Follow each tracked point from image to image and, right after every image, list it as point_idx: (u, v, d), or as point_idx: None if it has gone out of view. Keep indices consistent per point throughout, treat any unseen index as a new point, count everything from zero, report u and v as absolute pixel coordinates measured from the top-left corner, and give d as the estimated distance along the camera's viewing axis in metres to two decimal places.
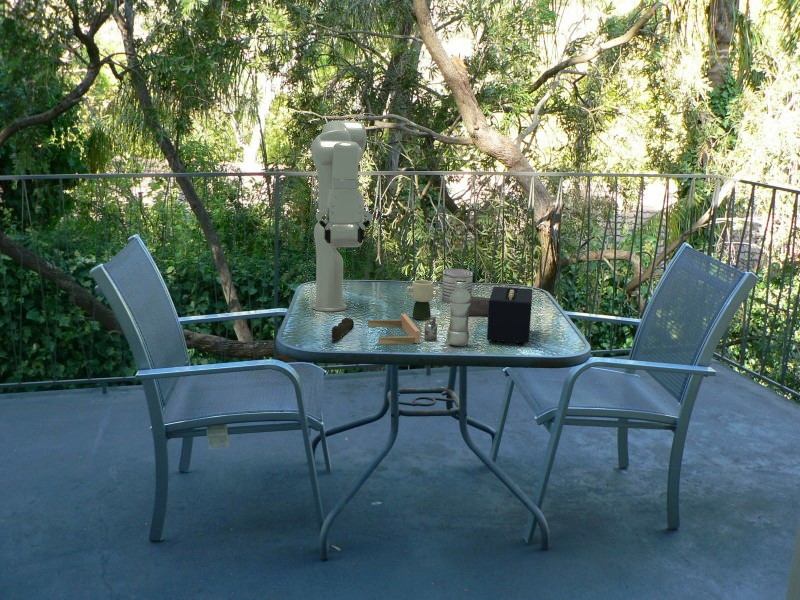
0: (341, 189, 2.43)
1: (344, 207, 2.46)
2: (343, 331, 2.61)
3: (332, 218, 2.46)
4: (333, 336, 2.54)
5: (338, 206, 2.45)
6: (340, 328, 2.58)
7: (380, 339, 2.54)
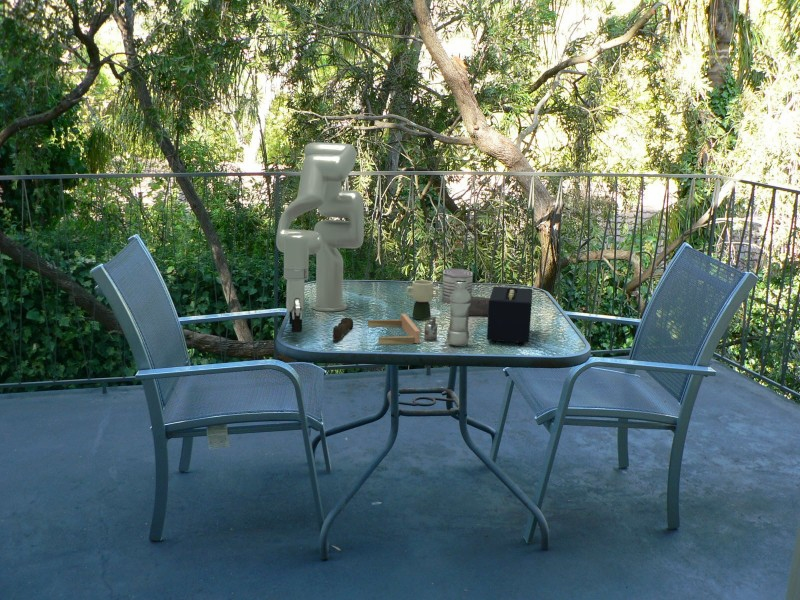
0: (307, 278, 2.56)
1: None
2: (344, 331, 2.61)
3: (303, 307, 2.55)
4: (334, 336, 2.54)
5: None
6: (341, 328, 2.58)
7: (380, 339, 2.54)
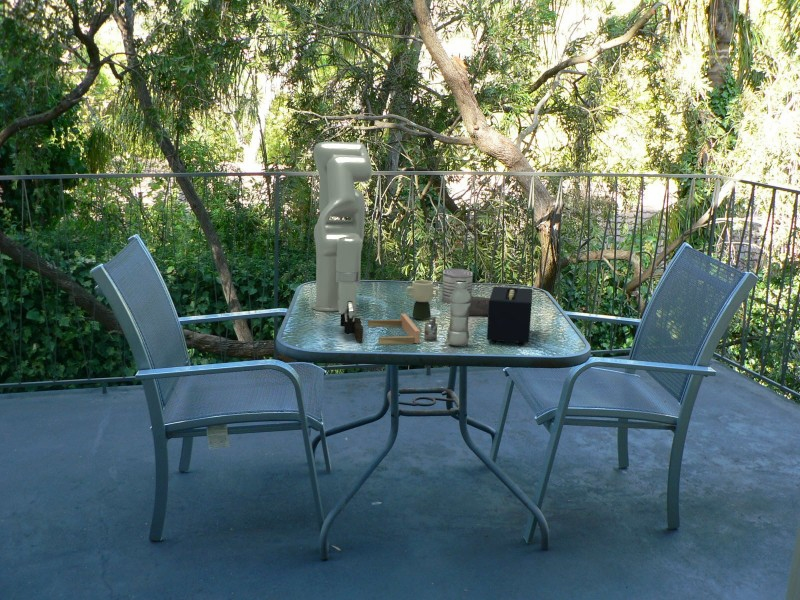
0: (359, 281, 2.59)
1: None
2: None
3: (355, 309, 2.58)
4: (360, 336, 2.55)
5: None
6: (362, 328, 2.59)
7: (380, 339, 2.54)
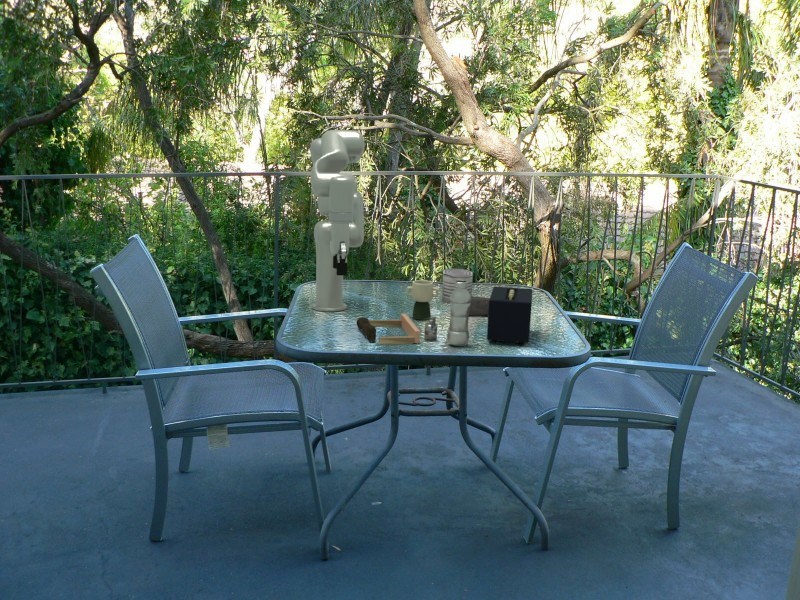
0: (352, 221, 2.55)
1: None
2: None
3: (348, 250, 2.54)
4: (374, 336, 2.56)
5: None
6: None
7: (380, 339, 2.54)
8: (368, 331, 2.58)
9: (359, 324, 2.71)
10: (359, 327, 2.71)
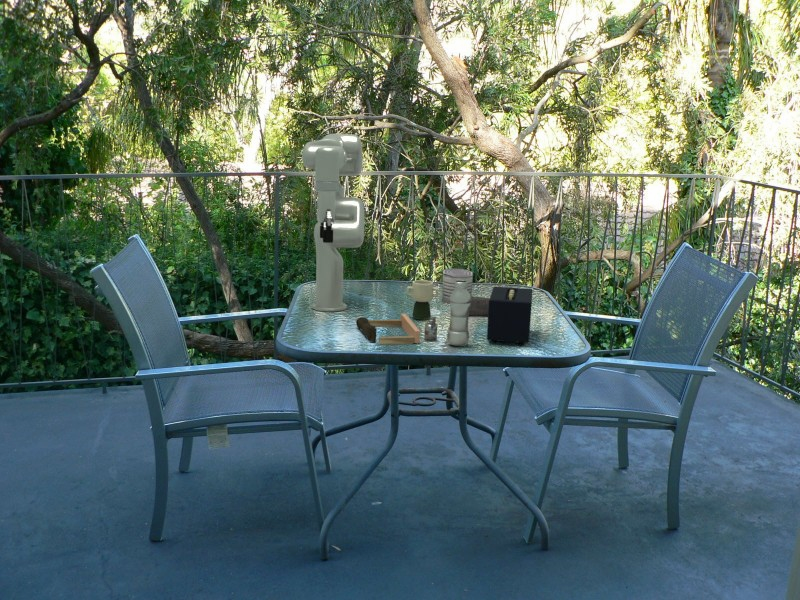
0: (337, 190, 2.65)
1: None
2: None
3: None
4: (374, 336, 2.56)
5: None
6: None
7: (380, 339, 2.54)
8: (368, 331, 2.58)
9: (359, 324, 2.71)
10: (359, 327, 2.71)
